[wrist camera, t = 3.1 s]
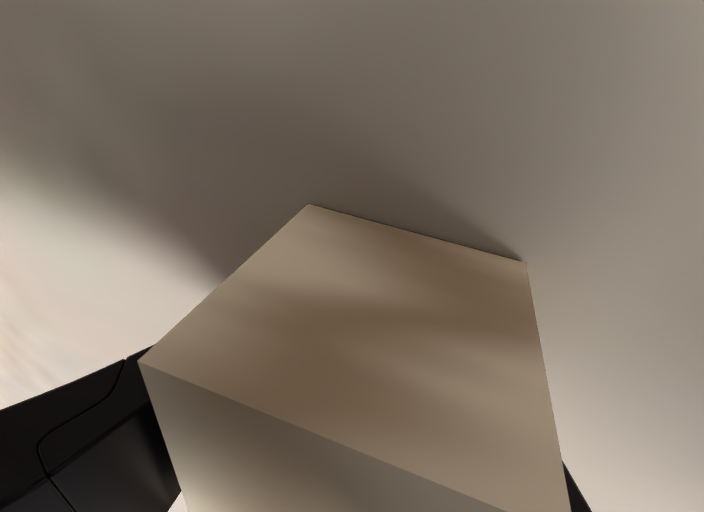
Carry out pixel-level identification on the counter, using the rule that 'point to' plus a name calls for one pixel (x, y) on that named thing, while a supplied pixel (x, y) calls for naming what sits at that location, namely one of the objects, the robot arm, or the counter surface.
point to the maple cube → (360, 379)
